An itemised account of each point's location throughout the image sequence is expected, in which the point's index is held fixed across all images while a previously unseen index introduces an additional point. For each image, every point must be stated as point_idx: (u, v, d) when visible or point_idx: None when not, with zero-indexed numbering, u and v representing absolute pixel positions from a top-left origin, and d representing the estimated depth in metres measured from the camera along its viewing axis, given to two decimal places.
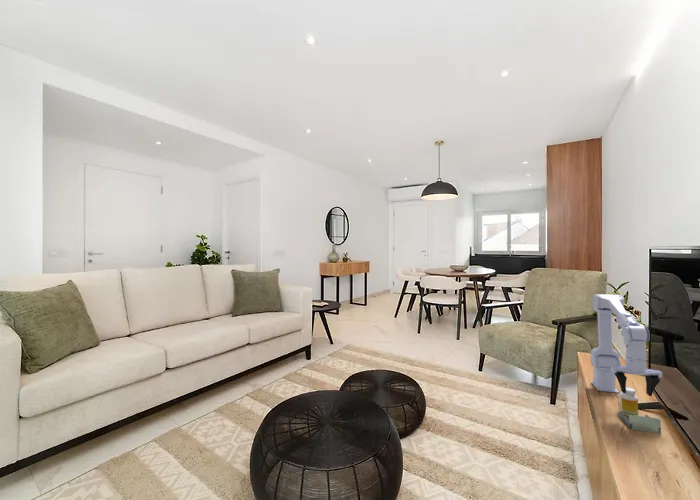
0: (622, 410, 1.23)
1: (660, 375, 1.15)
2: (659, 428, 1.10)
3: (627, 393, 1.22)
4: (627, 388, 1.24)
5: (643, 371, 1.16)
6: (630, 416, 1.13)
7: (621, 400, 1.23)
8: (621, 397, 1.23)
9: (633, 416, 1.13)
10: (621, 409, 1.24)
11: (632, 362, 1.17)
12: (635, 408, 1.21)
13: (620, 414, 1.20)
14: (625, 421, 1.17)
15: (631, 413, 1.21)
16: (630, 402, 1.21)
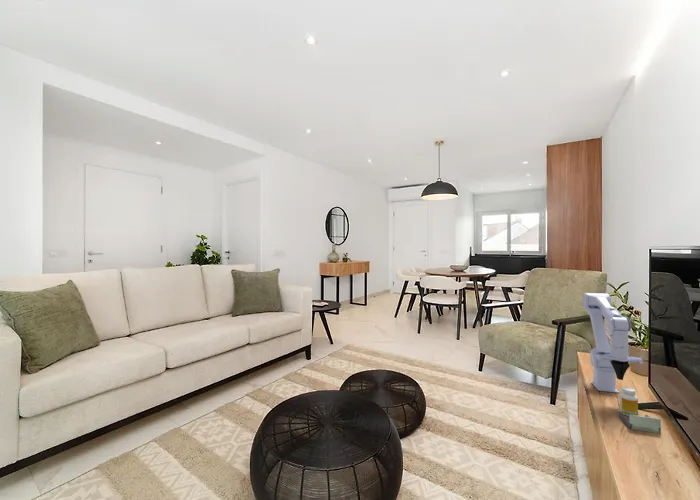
0: (622, 410, 1.23)
1: (641, 362, 1.27)
2: (659, 428, 1.10)
3: (627, 393, 1.22)
4: (627, 388, 1.24)
5: (625, 358, 1.28)
6: (630, 416, 1.13)
7: (621, 400, 1.23)
8: (621, 397, 1.23)
9: (633, 416, 1.13)
10: (621, 409, 1.24)
11: (616, 350, 1.29)
12: (635, 408, 1.21)
13: (620, 414, 1.20)
14: (625, 421, 1.17)
15: (631, 413, 1.21)
16: (630, 402, 1.21)
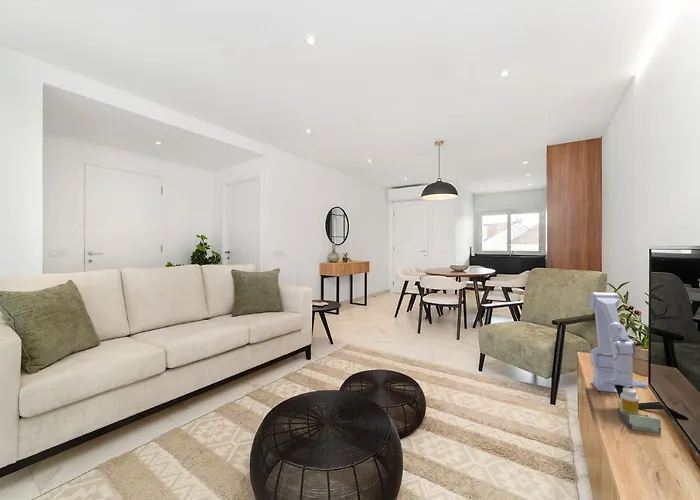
0: (622, 410, 1.23)
1: (645, 387, 1.24)
2: (659, 428, 1.10)
3: (628, 394, 1.21)
4: (628, 389, 1.23)
5: (630, 383, 1.24)
6: (630, 416, 1.13)
7: (621, 400, 1.23)
8: (622, 398, 1.23)
9: (633, 416, 1.13)
10: (621, 409, 1.23)
11: (620, 375, 1.26)
12: (635, 409, 1.20)
13: (620, 414, 1.20)
14: (625, 421, 1.17)
15: (631, 413, 1.21)
16: (630, 403, 1.21)
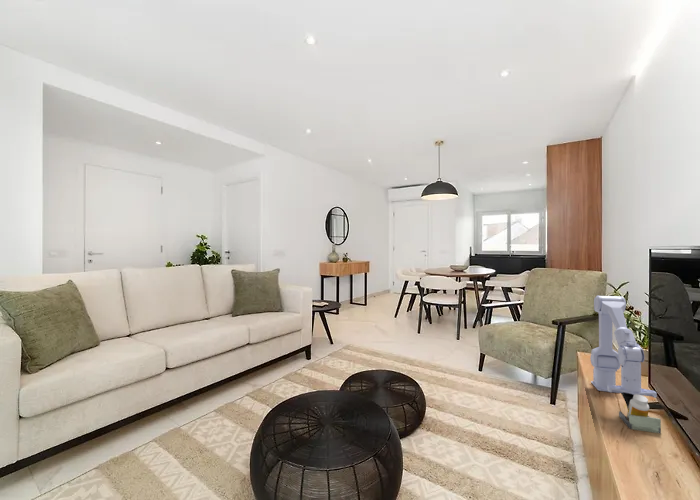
0: None
1: (655, 395, 1.18)
2: (659, 428, 1.10)
3: (639, 403, 1.14)
4: (639, 397, 1.16)
5: (638, 391, 1.18)
6: (630, 416, 1.13)
7: (631, 408, 1.17)
8: (631, 406, 1.16)
9: (633, 416, 1.13)
10: None
11: (627, 382, 1.20)
12: None
13: (620, 414, 1.20)
14: (625, 421, 1.17)
15: None
16: (640, 412, 1.14)
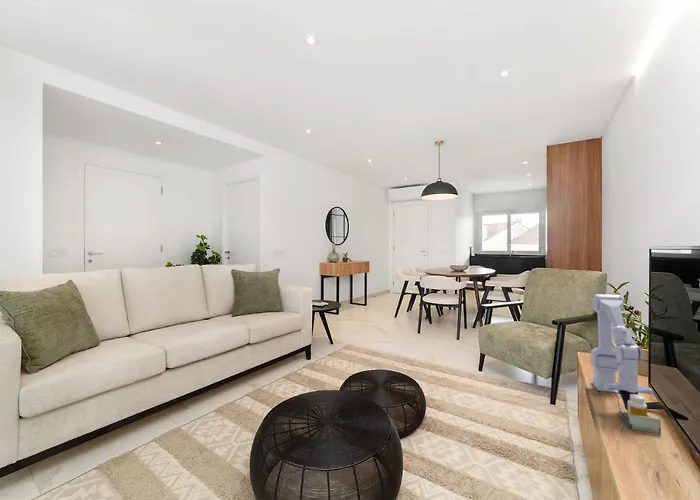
0: None
1: (651, 392, 1.20)
2: (659, 428, 1.10)
3: (636, 401, 1.16)
4: (635, 395, 1.18)
5: (635, 389, 1.21)
6: (630, 416, 1.13)
7: (629, 408, 1.17)
8: (629, 405, 1.17)
9: (633, 416, 1.13)
10: None
11: (624, 380, 1.22)
12: None
13: (620, 414, 1.20)
14: (625, 421, 1.17)
15: None
16: (639, 410, 1.15)
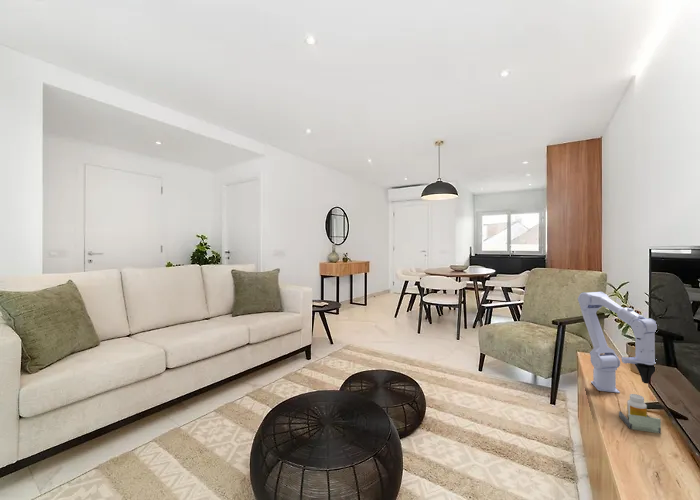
0: None
1: None
2: (659, 428, 1.10)
3: (636, 401, 1.16)
4: (635, 395, 1.18)
5: (652, 361, 1.24)
6: (630, 416, 1.13)
7: (629, 408, 1.17)
8: (629, 405, 1.17)
9: (633, 416, 1.13)
10: None
11: (642, 353, 1.25)
12: None
13: (620, 414, 1.20)
14: (625, 421, 1.17)
15: None
16: (639, 410, 1.15)
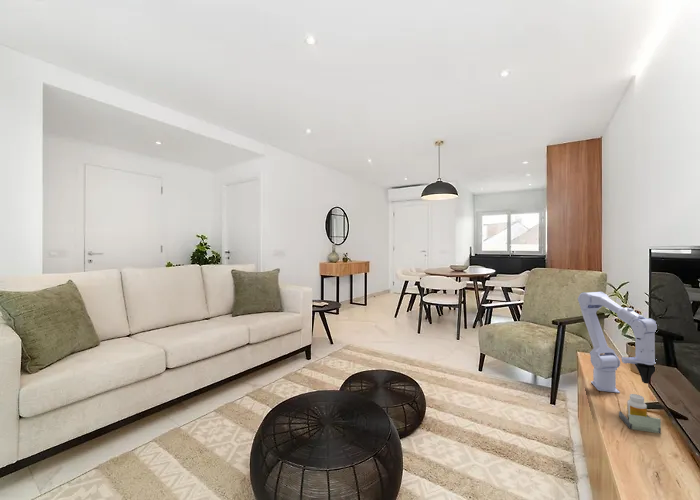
0: None
1: None
2: (659, 428, 1.10)
3: (636, 401, 1.16)
4: (635, 395, 1.18)
5: (652, 361, 1.24)
6: (630, 416, 1.13)
7: (629, 408, 1.17)
8: (629, 405, 1.17)
9: (633, 416, 1.13)
10: None
11: (642, 353, 1.25)
12: None
13: (620, 414, 1.20)
14: (625, 421, 1.17)
15: None
16: (639, 410, 1.15)
